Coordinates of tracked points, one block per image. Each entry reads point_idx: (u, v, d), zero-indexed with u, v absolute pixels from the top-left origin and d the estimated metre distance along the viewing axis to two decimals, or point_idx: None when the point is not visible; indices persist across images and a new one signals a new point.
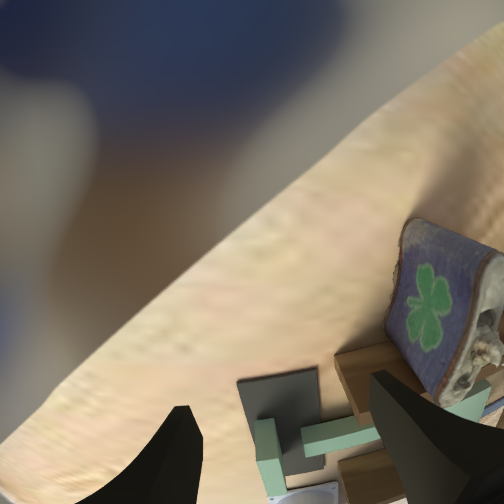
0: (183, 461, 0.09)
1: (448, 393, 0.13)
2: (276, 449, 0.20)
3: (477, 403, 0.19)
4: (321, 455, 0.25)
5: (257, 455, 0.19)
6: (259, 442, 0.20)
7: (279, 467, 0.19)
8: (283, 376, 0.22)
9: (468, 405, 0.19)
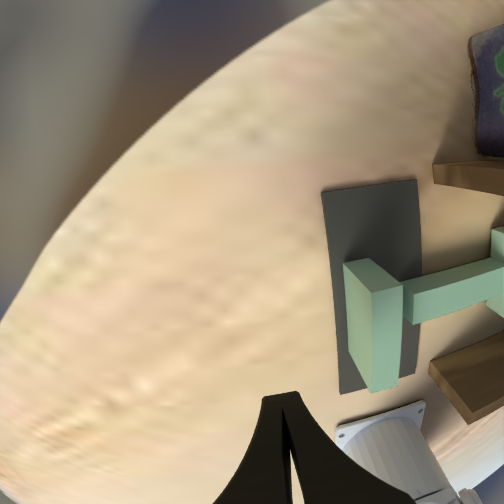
0: (285, 451, 0.09)
1: None
2: (393, 278, 0.14)
3: None
4: (416, 344, 0.19)
5: (369, 287, 0.14)
6: (363, 276, 0.15)
7: (400, 310, 0.13)
8: (380, 184, 0.16)
9: None
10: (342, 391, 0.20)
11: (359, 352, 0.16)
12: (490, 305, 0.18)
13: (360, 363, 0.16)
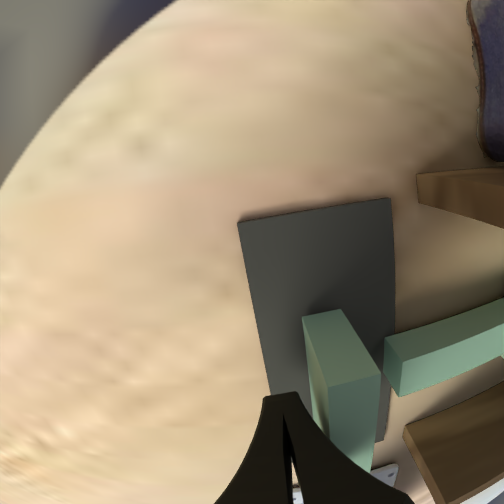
0: (286, 451, 0.09)
1: None
2: (368, 357, 0.09)
3: None
4: (385, 412, 0.14)
5: (327, 373, 0.08)
6: (325, 349, 0.10)
7: (376, 404, 0.08)
8: (331, 207, 0.11)
9: None
10: None
11: None
12: (503, 353, 0.13)
13: None
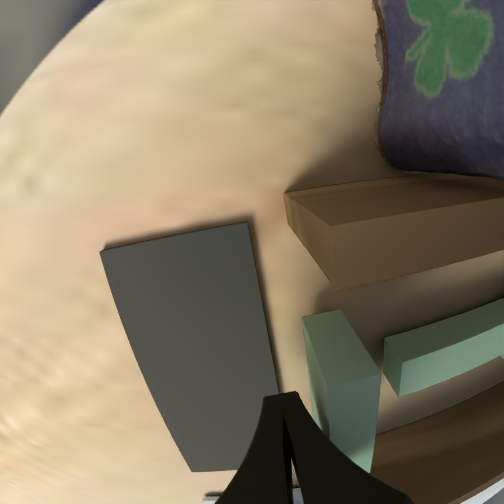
0: (286, 451, 0.09)
1: None
2: (368, 357, 0.09)
3: None
4: None
5: (327, 374, 0.09)
6: (324, 349, 0.10)
7: (376, 404, 0.08)
8: (180, 234, 0.12)
9: None
10: (192, 469, 0.15)
11: None
12: (503, 353, 0.13)
13: None
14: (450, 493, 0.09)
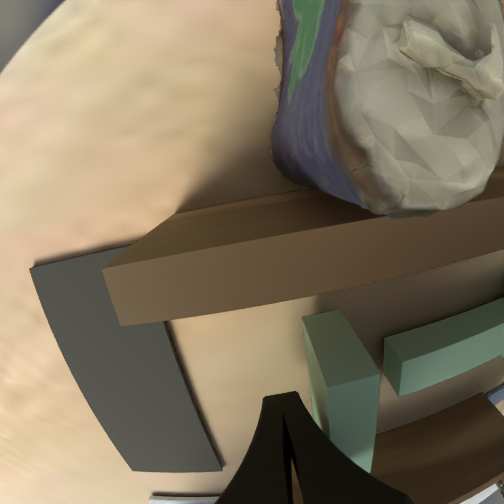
0: (286, 451, 0.09)
1: (388, 79, 0.02)
2: (368, 357, 0.09)
3: None
4: (207, 445, 0.15)
5: (327, 374, 0.09)
6: (324, 349, 0.10)
7: (375, 404, 0.08)
8: (87, 255, 0.12)
9: None
10: (132, 468, 0.15)
11: None
12: (503, 353, 0.13)
13: None
14: None
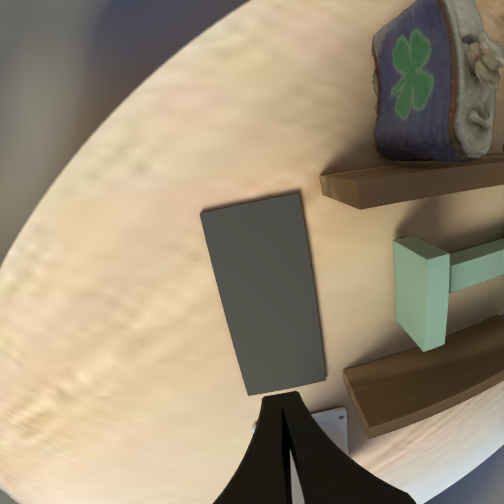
0: (286, 451, 0.09)
1: (465, 124, 0.09)
2: (440, 249, 0.16)
3: None
4: (320, 353, 0.21)
5: (423, 255, 0.15)
6: (415, 249, 0.17)
7: (448, 275, 0.15)
8: (257, 201, 0.19)
9: None
10: (249, 392, 0.22)
11: (410, 317, 0.18)
12: None
13: (411, 327, 0.18)
14: (448, 392, 0.16)
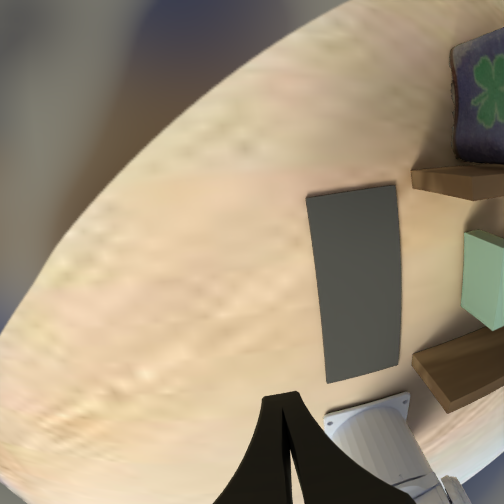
0: (286, 451, 0.09)
1: None
2: None
3: None
4: (398, 337, 0.21)
5: (498, 245, 0.15)
6: (488, 240, 0.17)
7: None
8: (360, 190, 0.18)
9: None
10: (329, 380, 0.22)
11: (479, 301, 0.18)
12: None
13: (479, 310, 0.18)
14: None
